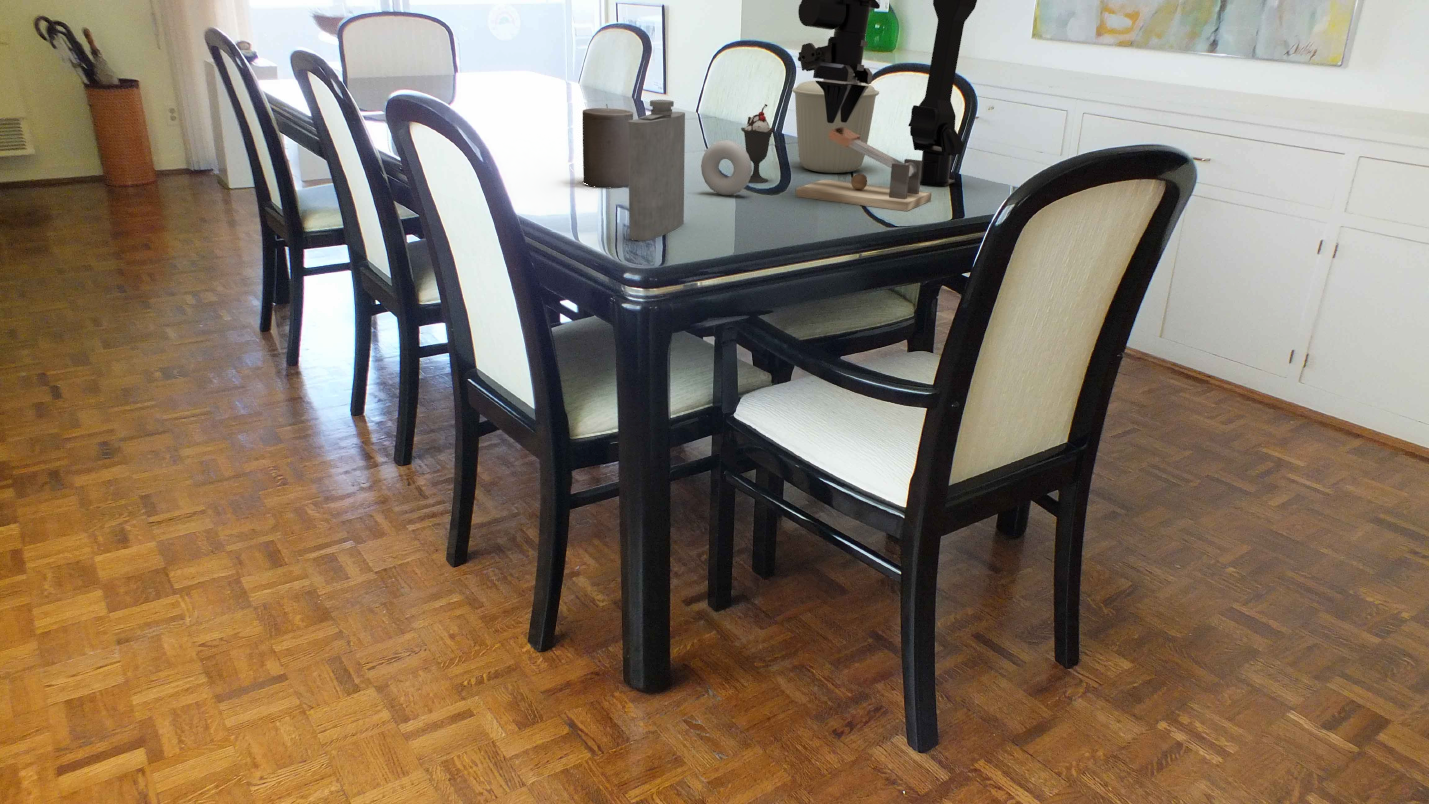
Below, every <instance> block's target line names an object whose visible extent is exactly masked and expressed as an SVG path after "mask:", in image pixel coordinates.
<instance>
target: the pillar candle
mask: <svg viewBox="0 0 1429 804" xmlns="http://www.w3.org/2000/svg"><path fill="white" fill-rule="evenodd" d="M605 106H606V107H604V108H603V107H598V108H597V107H596V108H595V107H592V108H586V109H583V110H582V162H583V163H582V164H583V165H582V166H583V168H582V170H583V171H582V173H583V181H582V183H583V182H584V183H586V184H588V185H591V186H595V188H600V187H611V188H610V189H615V188H616V189H617V188H618V189H619V188H627V187H629V129H628V121H629V120H634V111H631V110H627V109H622V108H611V107H610V108H609V106H608V103H606V104H605ZM591 186H590V187H591Z"/></svg>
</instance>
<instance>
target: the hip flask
mask: <svg viewBox="0 0 1429 804" xmlns="http://www.w3.org/2000/svg"><path fill="white" fill-rule="evenodd" d="M674 103H675V100H671V99H670V100H669V99H652V100H651V99H650V100H649V107H651V108H652V109H650V114H649V113H648V114H645V115H643V116H640V117H638V118H637V119H636V118H635V119H633V120H629V121H628V129H629V186H628V208H629V209H628V216H629V217H628V225H629V226H628V227H629V228H628V229H629V231H628V233H629V234H628V235H629V236H628V237H629V238H630V239H633V240H632V241H634V240H638V241H637V242H645V241H644V240H646V241H649V240H652V239H656V238H659V237H661V236H664V235H667V234H669V233H671V232H673V231H675V230H677V229H678V228H680V227H681V226H682V225H684V223H685V219H684V217H685V153H686V152H685V149H686V147H685V146H686V143H685V141H686V140H685V139H686V134H685V133H686V112H684V111H674V110H673V107H674ZM630 239H629V240H630Z"/></svg>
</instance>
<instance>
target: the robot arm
mask: <svg viewBox="0 0 1429 804" xmlns="http://www.w3.org/2000/svg"><path fill="white" fill-rule="evenodd" d="M977 2H978V0H932V6H933V8H934V12H935V14H936V18H937V24H936V25H937V26H936V31H935V36H934V37H935V38H934V41H933V42H934V43H933V49H932V55H931V61H930V66H929V72H928V78H927V84H926V89H925V96H924V98H923V99H922V100H921V102H920V104H918V105H917V104H916V105H913V106H912V107H911V115H910V119H909V120H910V121H909V123H908V125H907V126H908V127H910V128H909V134H910V137H911V138H912V145H913V146H912V147H913V150H914V151H921V152H922V155H921V160H922V167H921V177H920V185H926V186H928V185H929V186H936V187H947V186H949V185H951V184H953V183H955V179H950V174H951V173H950V172H951V163H952V156H953V157H954V156H957V155H961V154H962V150H963V149H964V146H965V143H964V142H963V140H962V138H961V136H960V135H959V134H958V132H957V131H956V130H957V129H956V117H957V116H956V112H955V109H954V106H953V104H952V95H953V89H954V88H953V87H954V82H955V76H956V71H957V66H958V61H959V60H958V59H959V54H960V48H961V43H962V38H963V32H964V28H965V27H964V26H965V24H966V23H965V22H966V21H967V20H968V18H969V17H970V16H971V14H972V13H973V12H974V10H975V9H976V5H977ZM880 7H881V5H880V4H879V2H878V1H877V0H801V1H800V4H799V5H798V12H797V13H798V19H799V22H800V23H801V24H802V25H803V26H804V27H808V28H816V29H822V30H828V31H832V30H833V36H830V37H829V38H828V39H827V45H824V46H823V45H822V46H818V47H816V46H815V45H814V43H812V42H807V43H804V44H802V45H801V49H800V51H799V52H798V57H797V61H798V62H799V63H800V66H801V70H802V71H803V72H805V71H806V72H812V71H813V75H812V76H813V79H817V80H823V81H817V80H814V81H816V83H817V84H818V85H819V86H820V87H821V89H822V90H823V92H824V97H825V106H826V115H827V122H828V123H834V121H835V119H836V117H837V115H838V113H839V111H840V109H841V122H844V123H846V122H847V121H848V119H849V118H850V116H851V114H852V113H853V111H854V109H855V107H856V106H857V104H858V102H859V101H860V99H861V98H862V96H863V94H864V93H865V91H866V90H867V89H868V87H869V86H864V85H861V83H865V84H869V85H872V82H873V81H872V80H873V75H874V73H873V72H872V71H871V70H870V68H869V67H865V64H863V57H864V52H865V51H864V49H865V48H868V45H869V44H868V43H869V41H868V40H866V37H867V30H868V23H869V18H870V9H873V10H875V9H880Z"/></svg>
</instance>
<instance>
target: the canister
mask: <svg viewBox="0 0 1429 804" xmlns="http://www.w3.org/2000/svg"><path fill="white" fill-rule="evenodd" d="M816 81H823V79H817V80H816ZM816 81H815V80H809V81H808V80H807V81H803V82H801V83H799V84H798V85H797V86H796V87H793V88H792V89H791V91H792V92H793V94H794V96H795V97H794V99H795V116H796V136H797V148H798V149H797V150H798V151H797V152H798V158H799V163H800V164H801V165H802V167H803V168H804V169H806V170H808V171H812V172H818V173H827V174H845V173H852V172H855V171H857V170H858V169H860V168H861V166H862V165H863V163H864V159H865V156H866V155H865V154H863V153H861V152H859V151H857V150H855V149H853V148H851V147H849V146H848V147H845V146H843V145H841V144H839V143H837V142H835V141H833V140H831V139H830V138H828V136H829V133H830V131H831V129H835V128H839V127H844V128H846V129H848V130H850V131H852V132H854V133H856V134H857V135H859V136H860V139H859V140H860V141H862V142H864V143H866V144H868V143H869V137H870V131H871V127H872V126H871V125H872V119H873V115H874V109H875V103H876V98H877V96H878V95H880V91H879V90H877V89H875V87H874V86H873V85H872V84H866V83H861V85H864V86H869V87H868V89H867V90H866V91H865V93H864V94H863V96H862V98H861V99H860V101H859V102H858V104H857V106H856V107H855V109H854V111H853V113H852V114H851V116H850V118H849V119H848V121H847V122H846V123H844V122H841V109H840V111H839V113H838V115H837V117H836V119H835V121H834V123H828V122H827V115H826V106H825V97H824V92H823V90H822V89H821V87H820V86H819V85H818V84H817V83H816Z"/></svg>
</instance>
